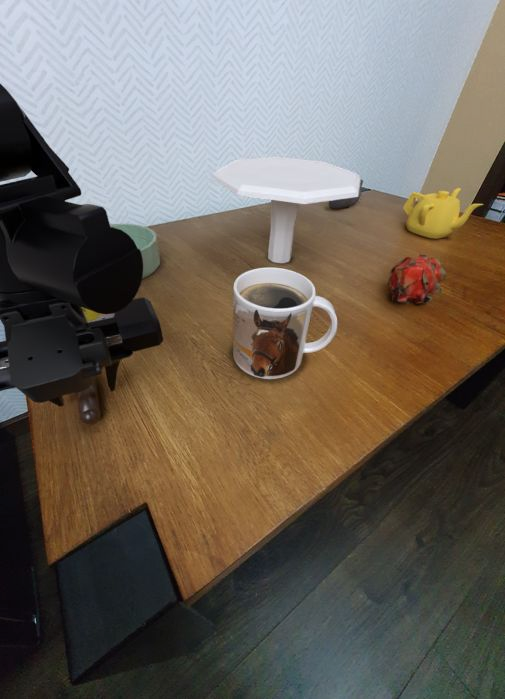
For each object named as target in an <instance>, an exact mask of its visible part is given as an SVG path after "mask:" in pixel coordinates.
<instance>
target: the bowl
mask: <svg viewBox="0 0 505 699" xmlns="http://www.w3.org/2000/svg"><path fill="white" fill-rule="evenodd" d="M109 224H110V223H109ZM110 227H113V228H117V229H120V230H122V231H124V232H125V233H127V234H128V235H129V236H130V237H131V238H132V239H133V241H134V242H135V244H136V246H137V248H138V249H140V251H141V254H142V258H143V277H142V280H143V279H145V278H147V277H148V276H150V275H152V274H153V273H154V272H155V271H157V270H158V268H159V266H160V265H161V260H162V259H161V254H160V248H159V242H158V234H156V232H155V231H154V230H152V229H150V227H147V226H143V225H141V224H133V223H111V224H110Z"/></svg>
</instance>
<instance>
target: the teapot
mask: <svg viewBox="0 0 505 699" xmlns="http://www.w3.org/2000/svg"><path fill="white" fill-rule="evenodd" d="M461 190H462V188H461V187H457V188H455V189H453V191H452V192H451V194H450V191H448V190H438V192H437V193H436V192H433V193H432V192H431V193H427V194H423V193H420V192H417V191H413V192H411V193H410V195H409V196H408V198H407V200H406V202H405V203H404V205H403V206H402V209H403V210H404V211H405V213H406V215H407V218H406V221H405V225H406V229H407V231H409V232H411V233H413V234H416V235H419V236H422V237H425V238H427V239H428V238H429V239H441V238H445V237H447V236H449V235H450V234H451V233H453V231H455V230H456V229H459V228H461V227H462V226H463V225H464V224H465V223H466V222H467V221H468V219H469V217H470V216H471V214H472V213H473V211H474V210H475V209H477V208H479V207H481V206H483V205H484V203H472V204H470V205H469V206H468V207H467V208H466V209H465V211H464V212H463V213H462V215H461V216H460V212H461V210H460V208H461V201H460V199H459V198H457V196H458V194H459V193H460V192H461ZM416 200H419V201H418V202H417V203H416V204H415V202H416ZM414 204H415V205H414Z"/></svg>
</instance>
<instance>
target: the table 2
mask: <svg viewBox="0 0 505 699" xmlns="http://www.w3.org/2000/svg"><path fill="white" fill-rule="evenodd" d="M210 179H211V180H213V181H215V182H216V183H217V184H219V185H221V186H222V187H224V188H225V189H227V190H228V191H230V192H232V193H233V194H234V195H236V196H241V197H247V198H256V199H262V200H270V230H269V231H270V232H269V240H268V253H267V259H268V260H269V261H270V262H272V263H277V264H286V263H290V261H291V258H292V252H293V251H292V250H293V246H294V245H293V244H294V236H295V226H296V220H297V216H298V212H299V207H300V205H308V204H317V203H325V202H329V201H331V200H338V199H345V198H353V197H358V194H359V188H360V182H361V180H362V179H361V176H360V175H359V174H358V173H357V172H355V171H352V170H349V169H346V168H344V167H340V166H338V165H335V164H332V163H329V162H326V161H323V160H322V161H321V160H312V159H303V158H293V157H283V156H267V157H266V156H265V157H253V158H252V157H251V158H237V159H235V160H232V161H231V162H229V163H227V164H226V165H224V166H222V167H220V168H219V169H217V170H215V171H214V172H213V173H212V174H211V176H210ZM360 179H361V180H360Z"/></svg>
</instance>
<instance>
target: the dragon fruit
mask: <svg viewBox="0 0 505 699" xmlns="http://www.w3.org/2000/svg"><path fill="white" fill-rule="evenodd" d="M446 278H447V271H446V270H445V268H444V266H443V265H442V263H441V260H440V259H439V258H436V257H427V255H426V254H424V253H420V254H419V255H418V256H417V257H416V258H413V257H411V256H406V257H404V258H402V259H401V260H400V261H399V262H398V263H397V264H396V265H394V266H393V267H392V269H391V270H390V272H389V277H388V281H387V286H389V290H390V293H391V294H392V295H391V301H392V302H395V301H397V302H398V303H401V304H402V303H403V304H408V303H410V302H411V300H413V302H414V303H415V304H427V303H429V302H431V301H433V300H434V298H433V297H432V296H429V295H428V294H431V295H439V294H441V293H442V291H443V289H442V288H441V285H440V283H442V282H443V281H444V280H445V279H446Z"/></svg>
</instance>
